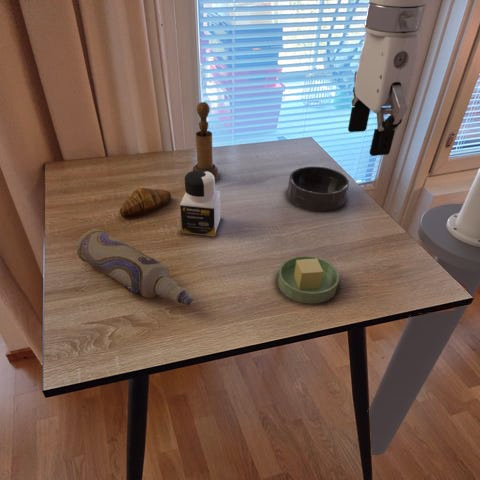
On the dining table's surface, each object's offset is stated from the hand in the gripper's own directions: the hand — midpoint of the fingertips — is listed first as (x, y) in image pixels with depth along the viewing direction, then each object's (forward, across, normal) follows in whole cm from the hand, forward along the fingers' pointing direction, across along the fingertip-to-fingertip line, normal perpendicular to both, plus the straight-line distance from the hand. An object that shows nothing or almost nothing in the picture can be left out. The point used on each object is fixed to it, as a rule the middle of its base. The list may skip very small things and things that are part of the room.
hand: (367, 142), depth 70 cm
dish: (+22, -9, +11) cm, 26 cm away
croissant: (+22, +23, +40) cm, 51 cm away
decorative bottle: (+22, -5, +43) cm, 48 cm away
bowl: (+22, +23, -1) cm, 32 cm away
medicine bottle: (+22, +13, +28) cm, 38 cm away
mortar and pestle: (+22, +36, +25) cm, 49 cm away
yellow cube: (+22, -9, +11) cm, 26 cm away
